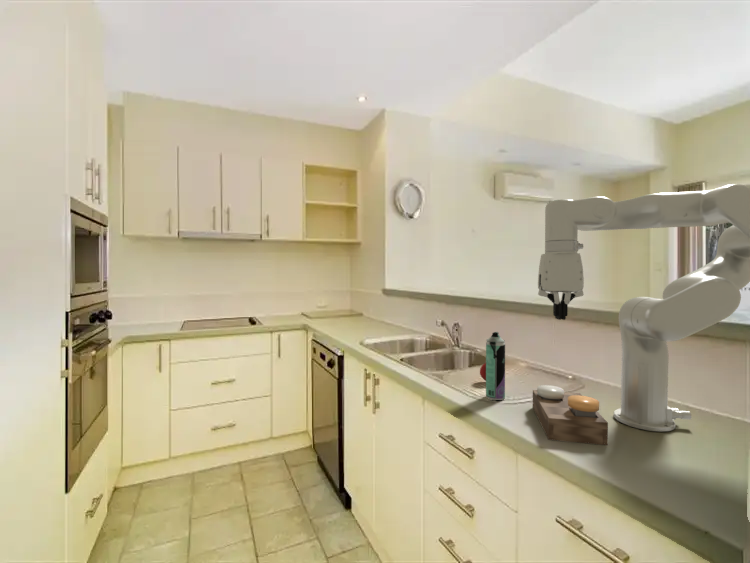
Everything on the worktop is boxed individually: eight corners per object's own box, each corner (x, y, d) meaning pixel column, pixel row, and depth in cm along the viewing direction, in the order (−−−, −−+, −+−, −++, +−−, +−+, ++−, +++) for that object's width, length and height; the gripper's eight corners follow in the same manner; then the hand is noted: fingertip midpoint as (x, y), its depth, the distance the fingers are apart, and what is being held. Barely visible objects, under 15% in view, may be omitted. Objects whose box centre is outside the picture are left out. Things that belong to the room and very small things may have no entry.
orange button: (593, 423, 89) (593, 396, 89) (603, 435, 83) (603, 405, 82) (564, 421, 90) (564, 394, 90) (571, 432, 84) (572, 403, 84)
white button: (560, 410, 100) (560, 385, 100) (566, 419, 94) (566, 393, 93) (535, 408, 101) (535, 384, 101) (539, 417, 95) (539, 391, 95)
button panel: (579, 411, 100) (579, 393, 100) (607, 445, 81) (607, 422, 81) (532, 407, 103) (532, 390, 103) (548, 439, 84) (548, 418, 83)
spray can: (506, 401, 108) (506, 333, 107) (486, 400, 109) (487, 333, 108) (503, 395, 113) (503, 330, 113) (485, 394, 114) (485, 330, 114)
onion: (497, 381, 128) (497, 358, 128) (497, 386, 122) (497, 362, 122) (479, 379, 130) (479, 357, 129) (479, 384, 124) (479, 361, 124)
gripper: (586, 248, 98) (585, 317, 98) (526, 249, 100) (526, 316, 101) (598, 247, 90) (597, 321, 91) (534, 248, 93) (533, 320, 93)
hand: (560, 318), depth 96 cm, fingers closed
